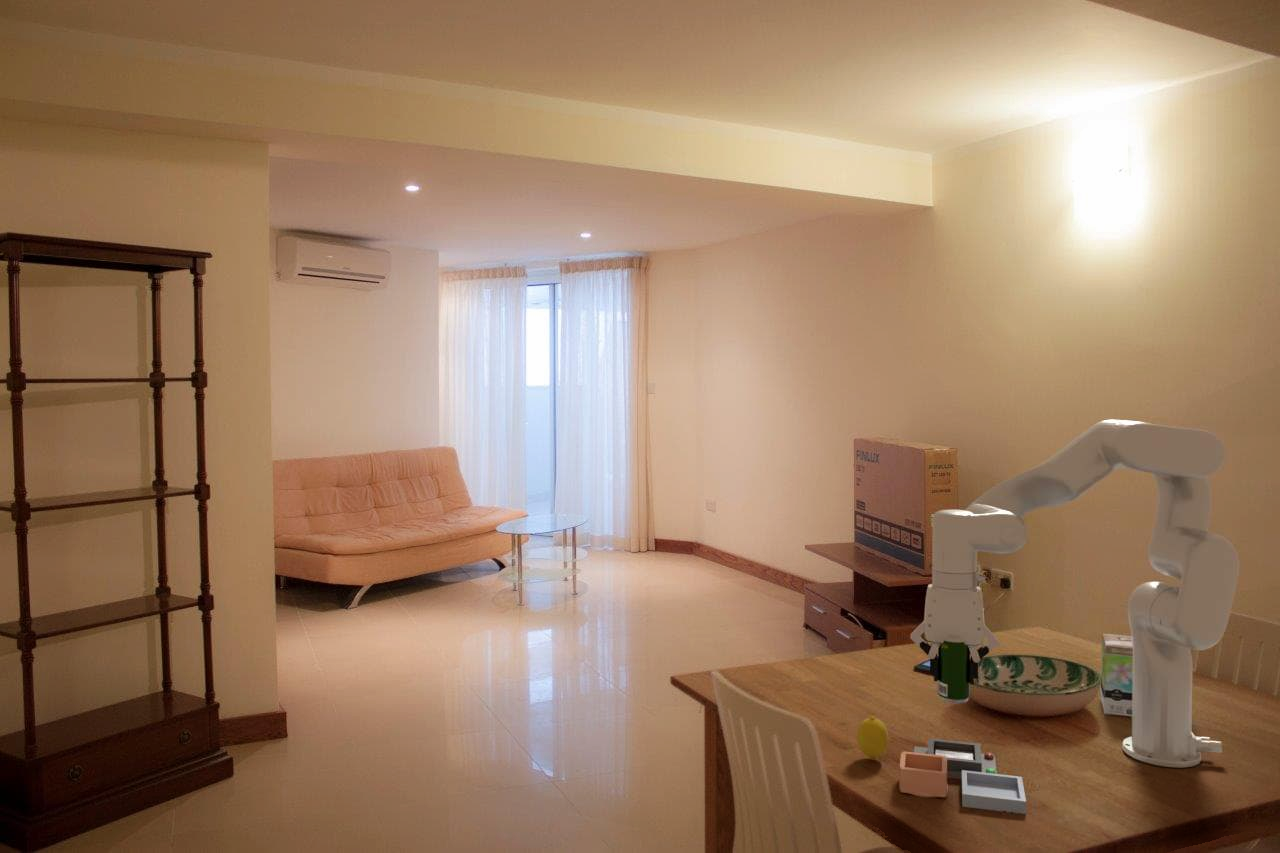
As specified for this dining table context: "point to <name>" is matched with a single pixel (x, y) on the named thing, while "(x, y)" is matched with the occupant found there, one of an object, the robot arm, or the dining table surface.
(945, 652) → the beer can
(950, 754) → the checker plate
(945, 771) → the peach open box
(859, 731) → the lemon
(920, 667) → the handheld game console
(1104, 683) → the tea box
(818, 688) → the dining table surface
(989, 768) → the button control box
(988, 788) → the light blue-grey square tray
